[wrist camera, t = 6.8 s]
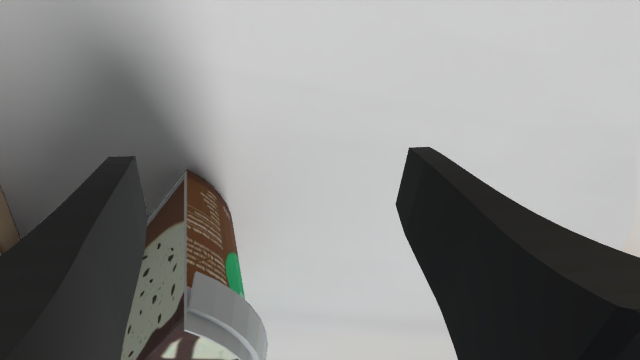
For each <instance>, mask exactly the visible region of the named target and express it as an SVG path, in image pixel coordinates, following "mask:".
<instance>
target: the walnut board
mask: <svg viewBox="0 0 640 360" xmlns="http://www.w3.org/2000/svg"><path fill="white" fill-rule="evenodd" d="M19 241H20V237H19V234H18V232H17V229H16V226H15V224H14V221H13V219H12V216H11V213H10V211H9V208H8V205H7V203H6V200H5V197H4V195H3V192H2V189H1V187H0V253H1V255H2V254H3V253H4V252H6V251H7V250H9V249H10V248H11V247H12V246H14V245H15V244H16V243H18V242H19Z"/></svg>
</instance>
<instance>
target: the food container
mask: <svg viewBox="0 0 640 360" xmlns="http://www.w3.org/2000/svg"><path fill="white" fill-rule="evenodd" d="M267 347H268V343H267V336H266V331H265V328H264V326H263V323H262V321H261V319H260V317H259V316H258V314H257V313H256V312H255V310H254V309H253V308H252V306H251V305H250V304H249V303H248V302H247V301H245V297H244V291H243V284H242V278H241V272H240V266H239V260H238V253H237V247H236V241H235V235H234V229H233V223H232V218H231V214H230V211H229V209H228V206H227V204H226V203H225V201H224V200H223V198H222V197H221V195H220V194H219V193H218V192H217V191H216V190H215V189H214V188H213V187H212V186H211V185H210V184H209V183H208V182H206V181H205V180H204V179H202V178H201V177H200V176H198V175H196V174H194V173H193V172H191V171H189V170H187V169H186V171H185V172H184V173H183V175H182V176H181V177H180V179H179V180H178V181H177V182H176V184H175V185H174V186H173V188H172V189H171V190H170V191H169V193H168V194H167V195H166V197H165V198H164V199H163V201H162V202H161V203H160V204H159V206H158V207H157V208H156V210H155V211H154V212H153V213H152V215H151V216H150V217H149V219H148V220H147V230H146V241H145V250H144V256H143V260H142V265H141V269H140V273H139V278H138V282H137V286H136V290H135V294H134V298H133V302H132V307H131V311H130V315H129V319H128V323H127V327H126V332H125V337H124V342H123V347H122V355H121V360H266V355H267Z"/></svg>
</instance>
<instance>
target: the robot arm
mask: <svg viewBox="0 0 640 360" xmlns="http://www.w3.org/2000/svg"><path fill="white" fill-rule="evenodd" d="M396 207H397V211H398V214H399V217H400V221H401V224H402V227H403V230H404V233H405V236H406V238H407V240H408V242H409V244H410V246H411V248H412V251H413V253H414V255H415V257H416V259H417V261H418V263H419V265H420V267H421V269H422V271H423V273H424V275H425V277H426V279H427V282H428V284H429V286H430V288H431V290H432V292H433V294H434V296H435V298H436V300H437V303H438V305H439V307H440V309H441V312H442V314H443V317H444V320H445V323H446V325H447V328H448V331H449V334H450V337H451V340H452V342H453V345H454V348H455V351H456V354H457V357H458V360H640V258H639V257H636V256H633V255H630V254H627V253H624V252H622V251H619V250H616V249H614V248H611V247H608V246H606V245H603V244H601V243H598V242H596V241H594V240H591V239H589V238H586V237H584V236H582V235H579V234H577V233H575V232H572V231H570V230H568V229H566V228H564V227H562V226H560V225H558V224H556V223H554V222H552V221H550V220H548V219H546V218H544V217H542V216H540V215H538V214H536V213H534V212H532V211H530V210H528V209H527V208H525V207H523V206H521V205H520V204H518V203H516V202H515V201H513V200H511V199H510V198H508V197H506V196H504V195H503V194H501V193H500V192H498V191H496V190H495V189H493V188H492V187H490V186H489V185H487V184H486V183H484V182H483V181H481V180H480V179H478V178H477V177H475V176H474V175H472V174H471V173H469V172H468V171H466V170H465V169H463V168H462V167H460V166H459V165H457V164H456V163H454V162H453V161H451V160H450V159H448V158H447V157H445V156H444V155H442V154H441V153H439V152H437V151H436V150H434V149H432V148H430V147H416V148H409V150H408V155H407V159H406V163H405V167H404V171H403V176H402V180H401V184H400V188H399V193H398V197H397V201H396ZM146 230H147V214H146V209H145V204H144V199H143V194H142V189H141V184H140V179H139V174H138V169H137V164H136V159H135V156H131V157H108V158H107V159H106V160H105V161H104V162H103V163H102V164H101V165H100V166H99V167H98V168H97V169H96V170H95V171H94V172H93V173H92V174H91V175H90V176H89V177H88V179H87V180H86V181H85V182H84V183H83V184H82V185H81V186H80V187H79V188H78V189H77V190H76V191H75V192H74V193H73V194H72V195H71V196H70V197H69V198H68V199H67V200H65V201H64V202H63V203H62V204H61V205H60V206H59V207H58V208H57V209H56V210H55V211H54V212H53V213H52V214H51V215H49V216H48V217H47V218H46V219H45V220H44V221H43V222H41V223H40V224H39V225H38V226H37V227H36V228H35V229H33V230H32V231H31V232H30V233H29V234H28V235H26V236H25V237H24V238H23V239H21V240H20V241H19V242H18V243H16V244H15V245H14V246H12V247H11V248H10V249H9V250H7V251H6V252H4V253H3V254H2V255H0V360H121V355H122V347H123V342H124V337H125V332H126V327H127V323H128V319H129V315H130V311H131V307H132V302H133V298H134V294H135V290H136V286H137V282H138V278H139V273H140V269H141V265H142V260H143V256H144V250H145V241H146Z"/></svg>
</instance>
